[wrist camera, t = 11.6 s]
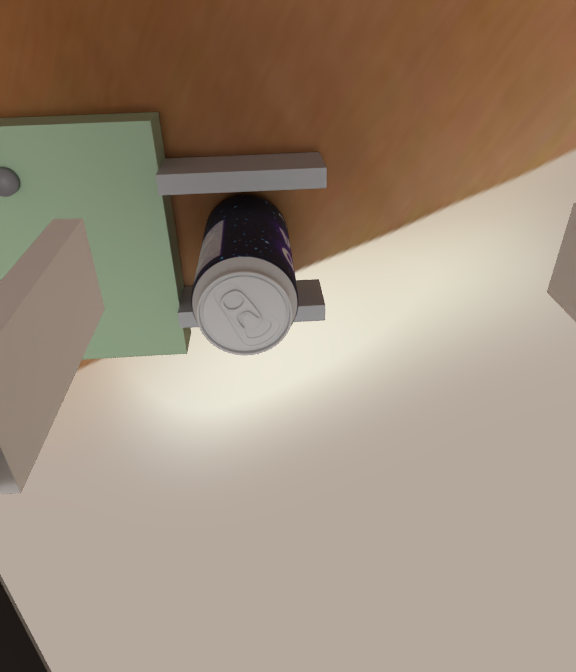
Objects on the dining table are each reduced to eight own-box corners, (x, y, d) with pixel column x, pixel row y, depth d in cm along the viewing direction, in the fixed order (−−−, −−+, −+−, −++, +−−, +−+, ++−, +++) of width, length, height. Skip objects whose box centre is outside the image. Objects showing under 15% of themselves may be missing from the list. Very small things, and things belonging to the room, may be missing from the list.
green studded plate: (-40, 119, 32) (-75, 132, 28) (319, 105, 33) (327, 116, 29) (34, 340, 40) (15, 370, 37) (318, 325, 41) (324, 353, 38)
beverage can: (239, 282, 39) (234, 378, 29) (189, 222, 36) (164, 305, 26) (302, 239, 37) (321, 325, 27) (255, 174, 35) (256, 242, 25)
